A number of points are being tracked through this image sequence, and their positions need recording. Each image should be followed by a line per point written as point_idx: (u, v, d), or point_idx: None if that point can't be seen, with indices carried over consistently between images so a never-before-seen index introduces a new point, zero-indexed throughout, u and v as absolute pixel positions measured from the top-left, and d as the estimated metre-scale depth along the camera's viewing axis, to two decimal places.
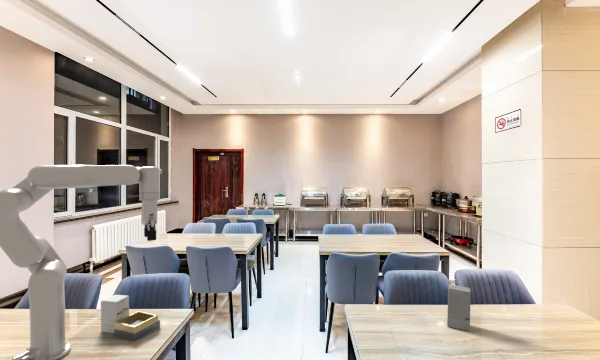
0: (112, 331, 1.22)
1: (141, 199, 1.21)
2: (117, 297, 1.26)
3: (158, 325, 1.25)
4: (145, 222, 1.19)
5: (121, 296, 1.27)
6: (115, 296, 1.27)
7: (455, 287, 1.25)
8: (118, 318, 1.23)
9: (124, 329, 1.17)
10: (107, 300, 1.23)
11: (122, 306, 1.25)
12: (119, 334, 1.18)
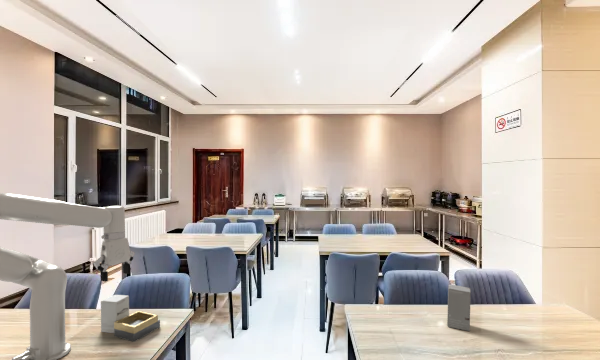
0: (112, 331, 1.22)
1: (124, 237, 1.26)
2: (117, 297, 1.26)
3: (158, 325, 1.25)
4: None
5: (121, 296, 1.27)
6: (115, 296, 1.27)
7: (455, 287, 1.25)
8: (118, 318, 1.23)
9: (124, 329, 1.17)
10: (107, 300, 1.23)
11: (122, 306, 1.25)
12: (119, 334, 1.18)
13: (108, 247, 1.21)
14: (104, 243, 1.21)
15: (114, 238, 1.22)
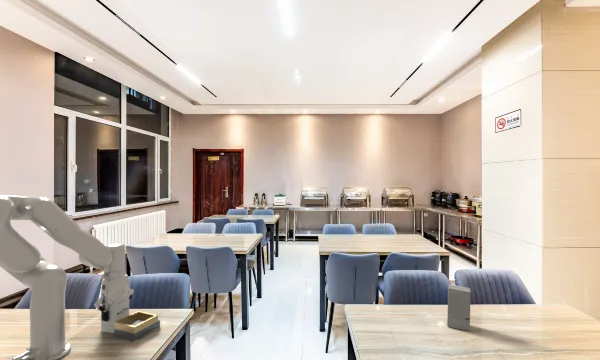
0: (112, 331, 1.22)
1: (124, 275, 1.26)
2: None
3: (158, 325, 1.25)
4: None
5: None
6: None
7: (455, 287, 1.25)
8: (118, 318, 1.23)
9: (124, 329, 1.17)
10: None
11: (122, 306, 1.25)
12: (119, 334, 1.18)
13: (108, 287, 1.21)
14: (104, 282, 1.21)
15: (114, 277, 1.22)
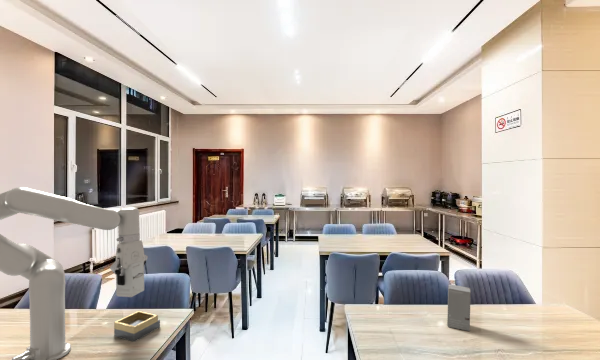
0: (128, 295, 1.20)
1: (139, 240, 1.24)
2: None
3: (158, 325, 1.25)
4: None
5: None
6: None
7: (455, 287, 1.25)
8: (134, 282, 1.21)
9: (124, 329, 1.17)
10: None
11: (137, 270, 1.23)
12: (119, 334, 1.18)
13: (124, 250, 1.18)
14: (119, 246, 1.19)
15: (129, 240, 1.20)
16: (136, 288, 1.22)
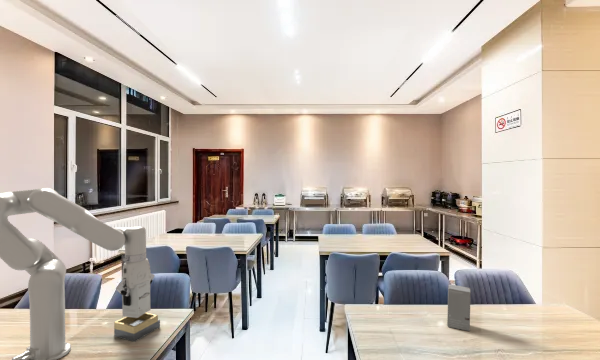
0: (134, 316, 1.18)
1: (145, 259, 1.23)
2: None
3: (158, 325, 1.25)
4: None
5: None
6: None
7: (455, 287, 1.25)
8: (140, 302, 1.19)
9: (124, 329, 1.17)
10: None
11: (143, 290, 1.21)
12: (119, 334, 1.18)
13: (130, 270, 1.17)
14: (126, 266, 1.18)
15: (136, 260, 1.19)
16: (142, 308, 1.20)
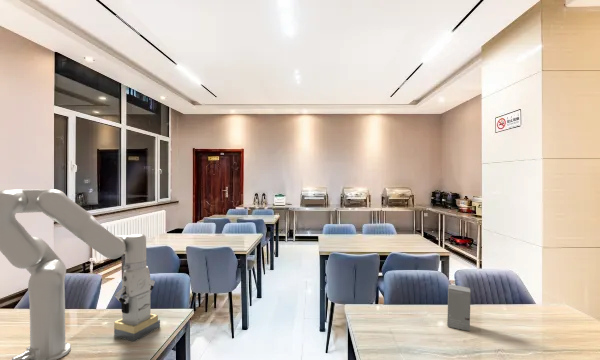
0: None
1: (145, 267, 1.23)
2: None
3: (158, 325, 1.25)
4: None
5: None
6: None
7: (455, 287, 1.25)
8: (139, 314, 1.19)
9: (124, 329, 1.17)
10: None
11: (143, 301, 1.21)
12: (119, 334, 1.18)
13: (130, 278, 1.17)
14: (126, 274, 1.18)
15: (136, 268, 1.19)
16: (141, 320, 1.20)
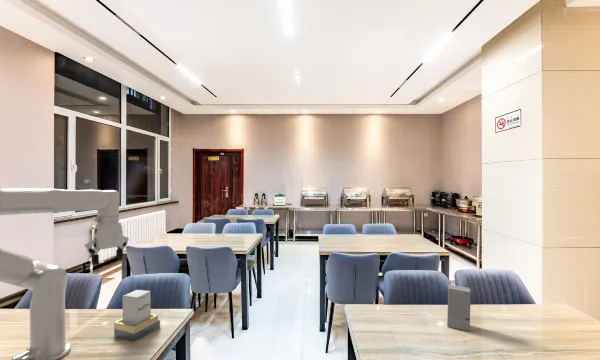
0: None
1: (117, 222, 1.26)
2: (139, 292, 1.23)
3: (158, 325, 1.25)
4: None
5: (143, 291, 1.24)
6: (137, 291, 1.24)
7: (455, 287, 1.25)
8: (139, 314, 1.19)
9: (124, 329, 1.17)
10: (129, 295, 1.20)
11: (143, 301, 1.21)
12: (119, 334, 1.18)
13: (100, 230, 1.21)
14: (96, 226, 1.22)
15: (106, 222, 1.22)
16: (141, 320, 1.20)
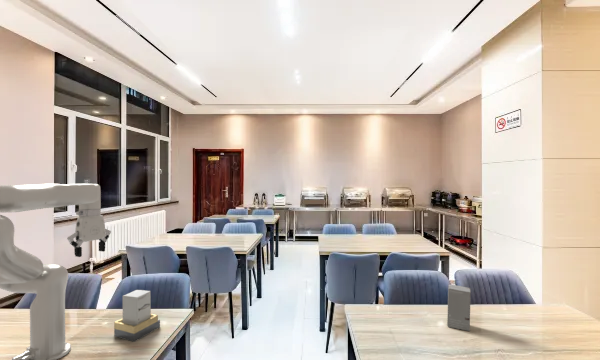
0: None
1: (99, 215, 1.29)
2: (139, 292, 1.23)
3: (158, 325, 1.25)
4: None
5: (143, 291, 1.24)
6: (137, 291, 1.24)
7: (455, 287, 1.25)
8: (139, 314, 1.19)
9: (124, 329, 1.17)
10: (129, 295, 1.20)
11: (143, 301, 1.21)
12: (119, 334, 1.18)
13: (82, 223, 1.23)
14: (79, 219, 1.24)
15: (89, 215, 1.25)
16: (141, 320, 1.20)
